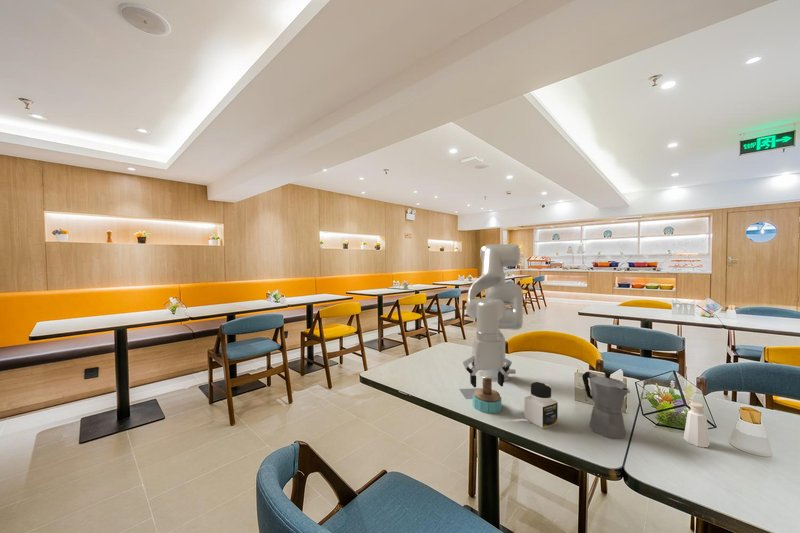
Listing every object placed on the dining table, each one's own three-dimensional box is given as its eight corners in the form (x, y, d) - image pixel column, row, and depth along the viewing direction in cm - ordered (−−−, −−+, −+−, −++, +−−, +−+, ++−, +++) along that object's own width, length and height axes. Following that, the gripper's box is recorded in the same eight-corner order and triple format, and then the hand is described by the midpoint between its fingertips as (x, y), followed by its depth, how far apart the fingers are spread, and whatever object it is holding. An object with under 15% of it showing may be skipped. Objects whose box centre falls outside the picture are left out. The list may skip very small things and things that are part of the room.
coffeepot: (641, 440, 88) (641, 378, 88) (615, 445, 85) (616, 381, 85) (593, 414, 103) (594, 361, 102) (571, 418, 100) (571, 363, 100)
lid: (494, 391, 111) (494, 374, 111) (503, 401, 103) (504, 383, 103) (471, 392, 111) (471, 375, 111) (479, 402, 102) (479, 384, 102)
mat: (480, 389, 123) (480, 388, 123) (489, 399, 114) (489, 397, 114) (459, 390, 122) (459, 388, 122) (465, 400, 113) (466, 398, 113)
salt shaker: (682, 434, 91) (683, 398, 91) (708, 441, 87) (709, 403, 87) (684, 443, 86) (684, 404, 86) (711, 450, 83) (712, 410, 83)
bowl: (494, 401, 112) (494, 390, 112) (505, 414, 103) (506, 402, 103) (469, 402, 111) (469, 391, 111) (478, 415, 102) (478, 403, 102)
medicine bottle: (542, 429, 93) (543, 390, 93) (523, 418, 100) (524, 382, 100) (557, 423, 97) (558, 386, 97) (538, 413, 103) (538, 378, 103)
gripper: (506, 334, 111) (506, 380, 111) (460, 334, 110) (459, 382, 110) (516, 339, 104) (515, 389, 104) (466, 339, 102) (466, 390, 102)
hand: (487, 385), depth 107 cm, fingers open, 9 cm apart
